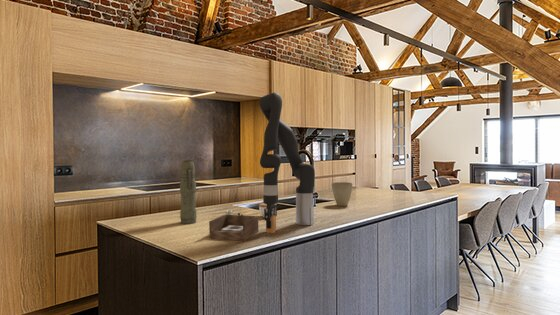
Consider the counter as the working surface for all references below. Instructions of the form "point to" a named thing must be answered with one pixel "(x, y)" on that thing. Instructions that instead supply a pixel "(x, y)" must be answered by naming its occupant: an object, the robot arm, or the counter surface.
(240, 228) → the inlet box
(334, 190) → the plant pot
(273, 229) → the orange rectangular block
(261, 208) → the lidded jar
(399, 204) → the counter surface
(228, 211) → the valve
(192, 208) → the thermos
